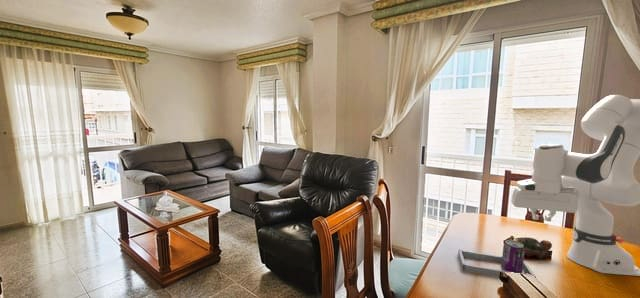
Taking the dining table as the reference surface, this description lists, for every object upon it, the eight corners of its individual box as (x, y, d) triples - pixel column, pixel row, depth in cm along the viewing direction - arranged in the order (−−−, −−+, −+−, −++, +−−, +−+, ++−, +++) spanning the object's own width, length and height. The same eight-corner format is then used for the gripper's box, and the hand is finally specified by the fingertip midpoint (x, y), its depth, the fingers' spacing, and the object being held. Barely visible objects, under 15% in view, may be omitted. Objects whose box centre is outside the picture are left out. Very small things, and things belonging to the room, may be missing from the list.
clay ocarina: (556, 262, 117) (557, 245, 116) (515, 259, 122) (516, 243, 120) (545, 250, 126) (546, 234, 125) (507, 248, 131) (508, 232, 129)
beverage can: (523, 278, 106) (526, 249, 105) (501, 272, 110) (504, 244, 108) (521, 269, 112) (524, 242, 111) (500, 264, 116) (503, 237, 114)
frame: (523, 265, 115) (523, 259, 115) (535, 283, 103) (536, 277, 103) (458, 254, 124) (458, 249, 123) (462, 270, 112) (462, 264, 111)
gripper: (575, 186, 103) (570, 220, 105) (511, 181, 110) (508, 213, 112) (584, 190, 97) (579, 227, 99) (517, 185, 104) (513, 219, 106)
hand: (541, 220), depth 105 cm, fingers open, 3 cm apart
